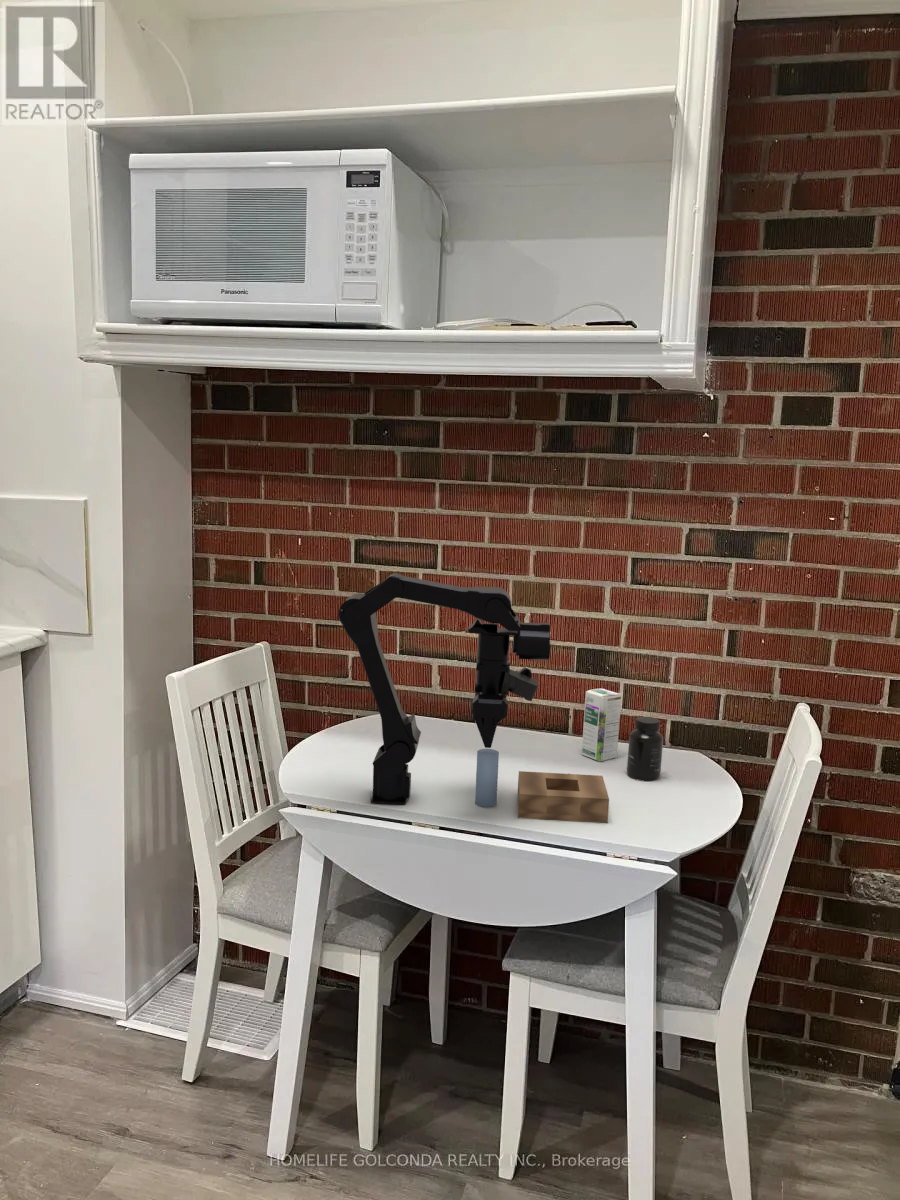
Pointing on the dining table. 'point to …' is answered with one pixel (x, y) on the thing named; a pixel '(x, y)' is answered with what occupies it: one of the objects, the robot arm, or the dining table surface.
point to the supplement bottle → (645, 750)
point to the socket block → (562, 797)
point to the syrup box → (601, 724)
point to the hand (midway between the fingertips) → (488, 739)
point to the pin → (486, 778)
